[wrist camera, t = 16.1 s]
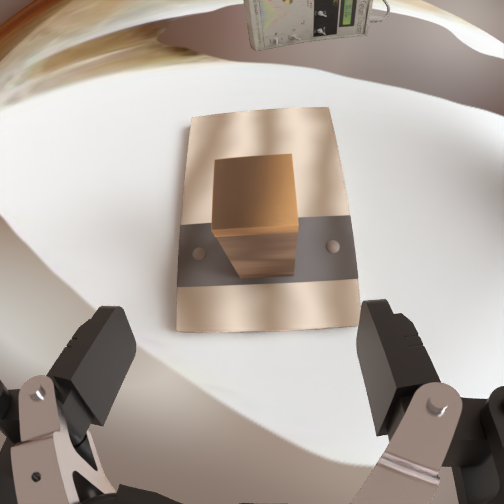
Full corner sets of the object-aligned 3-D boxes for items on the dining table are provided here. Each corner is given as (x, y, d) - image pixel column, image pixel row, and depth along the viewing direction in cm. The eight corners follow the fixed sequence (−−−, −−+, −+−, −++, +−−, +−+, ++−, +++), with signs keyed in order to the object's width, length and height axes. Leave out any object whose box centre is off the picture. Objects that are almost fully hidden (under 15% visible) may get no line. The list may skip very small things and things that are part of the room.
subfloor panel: (327, 115, 34) (328, 106, 32) (358, 325, 26) (362, 324, 25) (194, 125, 35) (191, 116, 34) (181, 332, 28) (175, 331, 26)
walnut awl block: (290, 225, 28) (291, 153, 18) (294, 276, 27) (298, 225, 16) (239, 228, 29) (214, 159, 18) (240, 278, 27) (211, 230, 17)
